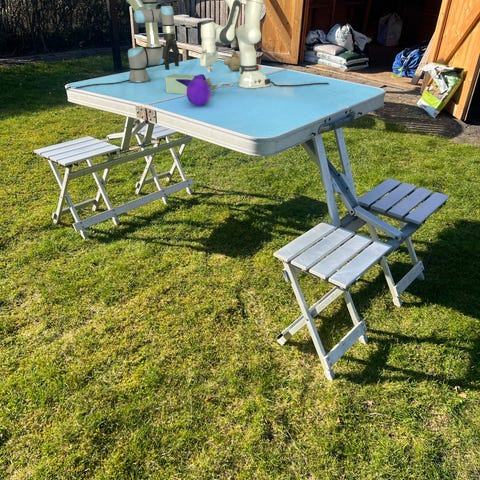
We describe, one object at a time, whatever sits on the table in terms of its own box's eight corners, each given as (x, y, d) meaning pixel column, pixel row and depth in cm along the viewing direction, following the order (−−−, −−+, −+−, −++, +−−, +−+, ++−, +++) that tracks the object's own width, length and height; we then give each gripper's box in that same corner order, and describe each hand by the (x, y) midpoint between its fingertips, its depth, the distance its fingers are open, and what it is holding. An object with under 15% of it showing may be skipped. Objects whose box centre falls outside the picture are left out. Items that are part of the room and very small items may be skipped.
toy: (199, 96, 289) (211, 111, 269) (173, 92, 282) (183, 107, 261) (204, 71, 281) (217, 85, 261) (177, 66, 274) (188, 79, 253)
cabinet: (200, 91, 306) (199, 75, 301) (193, 94, 297) (192, 78, 292) (174, 89, 312) (173, 74, 307) (166, 92, 303) (165, 77, 298)
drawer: (219, 90, 301) (218, 78, 297) (213, 94, 293) (212, 81, 288) (186, 88, 308) (185, 76, 304) (179, 92, 300) (178, 79, 296)
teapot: (227, 73, 361) (227, 53, 353) (221, 70, 369) (220, 51, 362) (250, 70, 370) (250, 50, 362) (243, 68, 378) (242, 49, 371)
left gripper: (164, 35, 277) (168, 71, 288) (183, 31, 297) (185, 65, 308) (154, 35, 280) (158, 70, 290) (172, 31, 300) (175, 64, 310)
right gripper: (206, 51, 275) (207, 75, 282) (219, 47, 292) (220, 69, 299) (197, 51, 277) (198, 74, 284) (210, 46, 293) (211, 69, 300)
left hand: (172, 68), depth 299 cm, fingers open, 13 cm apart
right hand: (209, 72), depth 291 cm, fingers closed
